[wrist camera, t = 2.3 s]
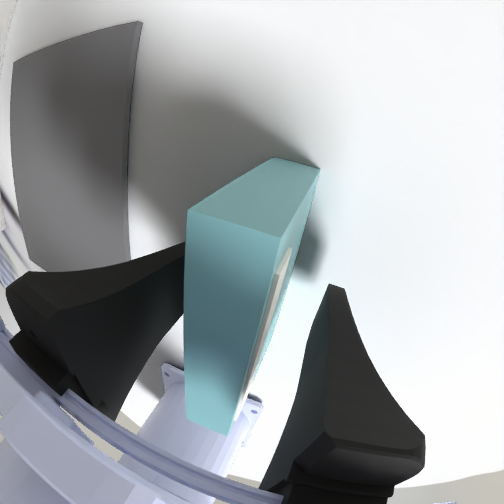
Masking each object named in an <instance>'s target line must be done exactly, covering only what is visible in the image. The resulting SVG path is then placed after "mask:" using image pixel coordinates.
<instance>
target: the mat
mask: <svg viewBox="0 0 504 504" xmlns="http://www.w3.org/2000/svg"><path fill="white" fill-rule="evenodd" d="M142 24H143V23H141V22H132V23H127V24H123V25H118V26H114V27H110V28H106V29H102V30H98V31H94V32H91V33H87V34H84V35H81V36H78V37H75V38H72V39H69V40H66V41H63V42H60V43H57V44H55V45H52V46H50V47H47V48H45V49H42V50H40V51H37V52H35V53H33V54H31V55H28V56H26V57H24V58H22V59H20V60H18V61H16V62H14V64H13V73H12V85H11V102H10V138H11V156H12V168H13V177H14V185H15V192H16V199H17V205H18V211H19V216H20V221H21V226H22V231H23V235H24V239H25V243H26V247H27V251H28V255H29V259H30V260H31V261H33V262H34V263H35V264H37V265H38V266H40V267H41V268H42V269H44V270H45V271H47V272H67V271H79V270H86V269H93V268H100V267H105V266H110V265H115V264H119V263H123V262H127V261H130V260H131V259H130V246H129V230H128V204H127V158H128V134H129V118H130V106H131V96H132V86H133V78H134V70H135V63H136V57H137V51H138V45H139V39H140V34H141V29H142Z"/></svg>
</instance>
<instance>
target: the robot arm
mask: <svg viewBox="0 0 504 504" xmlns="http://www.w3.org/2000/svg"><path fill="white" fill-rule="evenodd" d="M185 245H186V242H183V243H180V244H178V245H175V246H172V247H169V248H166V249H164V250H161V251H158V252H155V253H152V254H149V255H146V256H143V257H140V258H137V259H133V260H130V261H127V262H123V263H119V264H115V265H110V266H105V267H100V268H93V269H86V270H79V271H67V272H32V271H28V272H27V273H25V274H24V275H22V276H21V277H20V278H18V279H17V280H16V281H14V282H13V283H12V284H10V285H9V286H8V287H7V288H6V297H7V301H8V303H9V306H10V308H11V310H12V313H13V315H14V317H15V319H16V321H17V323H18V325H19V327H20V329H21V331H20V332H19V333H17V334H16V335H15V336H13V335H12V334H11V333H10V332H9V331H8V330H7V329H6V327H5V324H4V322H3V320H2V318H1V316H0V415H1V416H2V418H1V419H0V432H1V433H2V435H3V436H4V437H5V438H4V440H3V441H2V442H1V443H0V504H213V503H214V501H215V499H219V500H222V501H225V502H227V503H230V504H387V499H388V497H392V495H393V492H394V486H395V485H397V484H399V483H401V482H403V481H405V480H407V479H409V478H411V477H413V476H415V475H416V474H418V473H419V472H420V471H421V470H422V469H423V468H424V465H425V435H424V434H423V433H422V432H421V431H420V429H419V428H418V427H417V426H416V425H415V424H414V423H413V422H412V420H411V419H410V418H409V417H408V416H407V415H406V414H405V412H404V411H403V410H402V408H401V407H400V406H399V404H398V403H397V402H396V401H395V399H394V398H393V396H392V395H391V393H390V392H389V390H388V389H387V387H386V386H385V384H384V383H383V381H382V379H381V378H380V376H379V374H378V373H377V371H376V369H375V367H374V365H373V364H372V362H371V360H370V358H369V356H368V354H367V352H366V349H365V347H364V345H363V342H362V340H361V337H360V335H359V332H358V330H357V327H356V324H355V321H354V318H353V315H352V312H351V309H350V306H349V302H348V299H347V295H346V292H345V289H344V288H341V287H338V286H335V285H332V284H329V285H328V287H327V290H326V292H325V295H324V297H323V299H322V302H321V304H320V307H319V309H318V311H317V314H316V316H315V319H314V321H313V324H312V327H311V330H310V334H309V337H308V340H307V344H306V349H305V354H304V359H303V364H302V369H301V374H300V379H299V384H298V389H297V393H296V396H295V400H294V403H293V406H292V409H291V412H290V415H289V417H288V420H287V423H286V426H285V428H284V431H283V433H282V436H281V439H280V441H279V444H278V446H277V449H276V451H275V453H274V456H273V458H272V460H271V463H270V465H269V467H268V469H267V472H266V474H265V476H264V478H263V480H262V482H261V484H260V487H259V488H258V489H257V488H254V487H251V486H248V485H244V484H242V483H238V482H236V481H233V480H230V479H227V478H226V476H227V474H228V472H229V470H230V468H231V466H232V464H233V461H234V459H235V457H236V455H237V453H238V450H239V448H240V447H244V446H245V445H246V443H247V441H248V439H249V437H250V435H251V433H252V431H253V429H254V427H255V425H256V423H257V421H258V418H259V416H260V414H261V412H262V410H263V407H264V406H263V405H262V404H261V403H260V402H257V401H254V400H252V399H249V398H246V401H245V403H244V405H243V407H242V409H241V411H240V414H239V416H238V418H237V420H236V421H234V423H233V426H232V428H231V430H230V432H229V434H228V436H225V435H222V434H220V433H217V432H215V431H213V430H210V429H208V428H206V427H203V426H201V425H199V424H197V423H194V422H192V421H190V420H188V419H186V402H185V379H184V371H182V370H180V369H178V368H176V367H174V366H172V365H170V364H167V363H164V364H163V365H162V366H161V371H162V378H163V385H164V391H165V394H164V395H163V397H162V398H161V400H160V401H159V403H158V404H157V406H156V407H155V409H154V410H153V412H152V413H151V414H150V416H149V417H148V419H147V420H146V422H145V423H144V425H143V426H142V428H141V429H140V431H139V432H138V433H137V435H135V434H133V433H132V432H130V431H128V430H127V429H125V428H124V427H122V426H120V425H119V424H117V423H116V422H114V421H115V420H116V418H117V415H118V413H119V411H120V409H121V407H122V405H123V403H124V401H125V399H126V397H127V395H128V393H129V391H130V389H131V388H132V386H133V384H134V382H135V380H136V379H137V377H138V375H139V373H140V372H141V370H142V368H143V367H144V365H145V363H146V362H147V360H148V359H149V357H150V356H151V354H152V353H153V351H154V349H155V348H156V346H157V345H158V344H159V342H160V341H161V340H162V338H163V337H164V336H165V335H166V333H167V332H168V331H169V330H170V329H171V328H172V326H173V325H174V324H175V323H176V322H177V320H178V319H179V318H180V317H181V316H182V315H183V313H184V269H185ZM60 406H61V407H62V408H63V409H65V410H66V411H67V412H68V413H69V414H71V415H72V416H73V417H74V418H76V419H77V420H78V421H79V422H81V423H82V424H83V425H84V426H86V427H87V428H88V429H90V430H91V431H92V432H94V433H95V434H97V435H98V436H99V437H101V438H102V439H104V440H105V441H107V442H108V443H110V444H111V445H113V446H114V447H116V448H117V449H119V450H120V451H122V452H123V453H124V454H123V455H122V457H121V458H120V460H119V461H118V462H116V461H115V460H113V459H112V458H110V457H108V456H107V455H106V454H104V453H103V452H101V451H100V450H99V449H97V448H96V447H94V446H93V445H94V443H93V442H92V440H90V439H89V438H88V437H87V436H86V435H85V434H84V433H83V432H82V431H81V429H80V428H79V427H78V426H77V425H76V423H75V422H74V420H73V419H71V418H70V416H68V415H67V414H66V413H65V412H64V411H63V410H62V409H61V408H60ZM432 504H457V502H456V501H453V502H444V503H432Z"/></svg>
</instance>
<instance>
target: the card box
mask: <svg viewBox="0 0 504 504" xmlns="http://www.w3.org/2000/svg"><path fill="white" fill-rule="evenodd" d="M319 173H320V169H318V168H314V167H311V166H307V165H303V164H300V163H296V162H292V161H288V160H285V159H281V158H277V157H272V158H271V159H269V160H267V161H265V162H264V163H262V164H260V165H259V166H257V167H255V168H253V169H252V170H250V171H248V172H247V173H245V174H243V175H242V176H240V177H238V178H237V179H235V180H233V181H232V182H230V183H229V184H227V185H225V186H224V187H222V188H220V189H219V190H217V191H216V192H214V193H213V194H211V195H209V196H208V197H206V198H205V199H203V200H202V201H200V202H198V203H197V204H195V205H194V206H192V207H191V208H189V209H188V211H187V226H186V245H185V269H184V379H185V402H186V419H188V420H190V421H192V422H194V423H197V424H199V425H201V426H203V427H206V428H208V429H210V430H213V431H215V432H217V433H220V434H222V435H225V436H228V434H229V432H230V430H231V428H232V426H233V423H234V421H236V420H237V418H238V416H239V414H240V411H241V409H242V407H243V405H244V403H245V401H246V398H247V396H248V393H249V390H250V387H251V384H252V382H253V380H254V377H255V375H256V373H257V371H258V368H259V366H260V364H261V361H262V359H263V357H264V354H265V352H266V350H267V347H268V345H269V342H270V340H271V338H272V334H273V331H274V328H275V325H276V322H277V319H278V316H279V313H280V310H281V306H282V303H283V300H284V297H285V294H286V290H287V287H288V284H289V281H290V277H291V274H292V271H293V267H294V264H295V260H296V257H297V254H298V250H299V247H300V243H301V240H302V236H303V233H304V229H305V225H306V222H307V218H308V214H309V211H310V207H311V203H312V200H313V196H314V192H315V188H316V184H317V180H318V177H319Z"/></svg>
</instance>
